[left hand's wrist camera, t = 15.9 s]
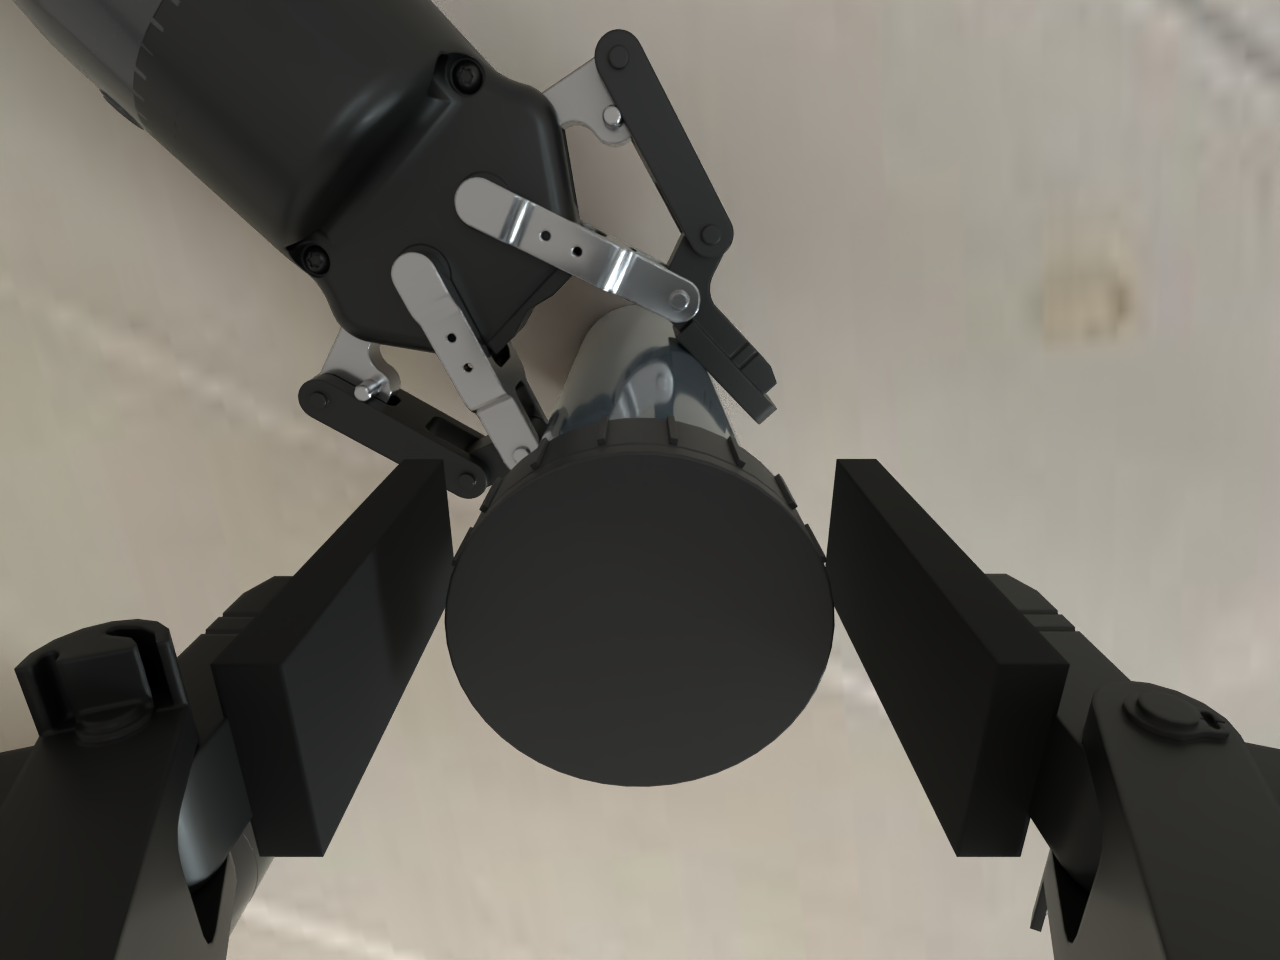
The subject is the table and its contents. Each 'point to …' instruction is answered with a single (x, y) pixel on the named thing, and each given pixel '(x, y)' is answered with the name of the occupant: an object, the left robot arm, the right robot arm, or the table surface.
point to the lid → (639, 604)
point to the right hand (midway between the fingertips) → (696, 468)
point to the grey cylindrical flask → (637, 377)
